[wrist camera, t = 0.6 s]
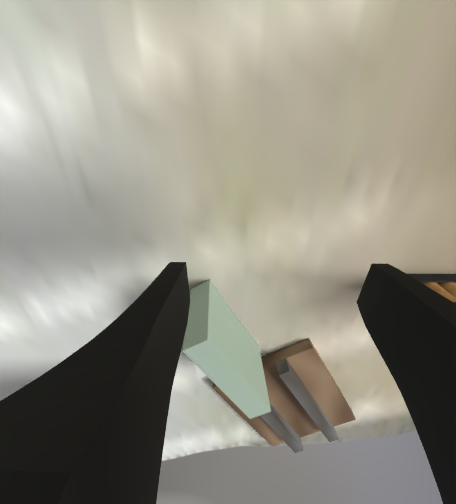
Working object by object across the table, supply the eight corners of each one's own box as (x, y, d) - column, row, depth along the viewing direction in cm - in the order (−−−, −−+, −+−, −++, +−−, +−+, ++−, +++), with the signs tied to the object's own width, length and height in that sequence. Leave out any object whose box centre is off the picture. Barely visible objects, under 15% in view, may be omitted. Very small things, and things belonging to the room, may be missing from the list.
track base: (270, 436, 36) (274, 459, 34) (212, 377, 29) (212, 400, 27) (351, 409, 34) (361, 432, 32) (309, 338, 27) (317, 360, 25)
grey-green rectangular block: (242, 351, 28) (249, 418, 22) (191, 288, 23) (182, 351, 17) (258, 344, 27) (271, 411, 21) (209, 278, 23) (207, 339, 17)
